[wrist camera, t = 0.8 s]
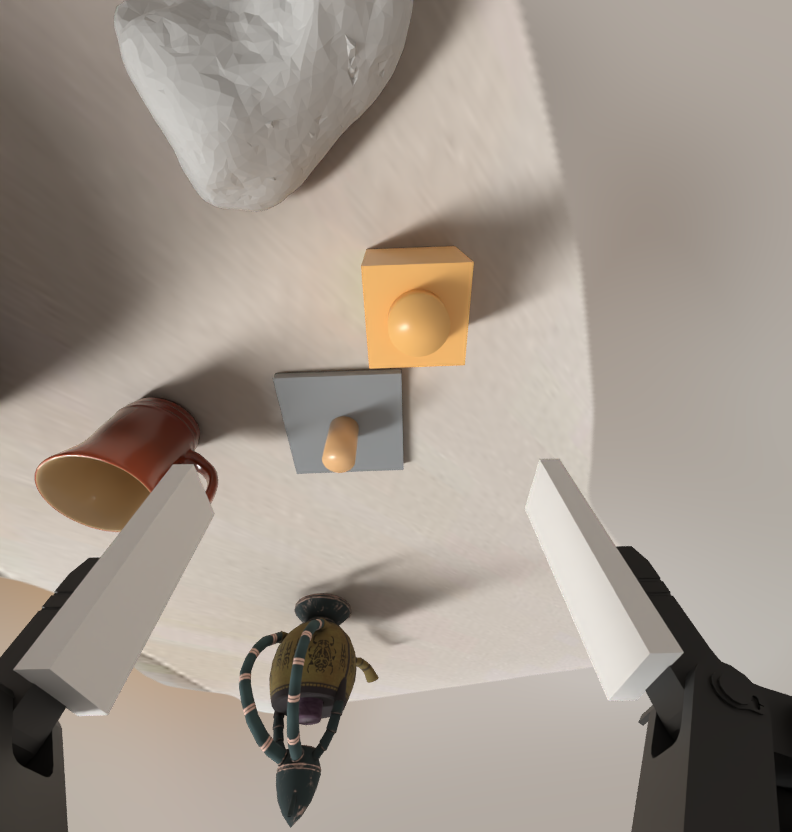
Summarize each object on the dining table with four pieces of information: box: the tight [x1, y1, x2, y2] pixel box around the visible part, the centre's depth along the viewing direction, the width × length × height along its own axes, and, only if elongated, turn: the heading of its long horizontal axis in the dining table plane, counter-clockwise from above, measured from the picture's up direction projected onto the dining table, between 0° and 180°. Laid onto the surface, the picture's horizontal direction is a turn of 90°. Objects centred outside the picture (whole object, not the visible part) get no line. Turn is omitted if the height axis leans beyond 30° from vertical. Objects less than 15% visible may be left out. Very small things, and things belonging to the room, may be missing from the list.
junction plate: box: [273, 369, 404, 474], centre depth 34 cm, size 12×12×6 cm
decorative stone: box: [114, 0, 413, 212], centre depth 19 cm, size 17×10×10 cm
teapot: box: [239, 594, 378, 827], centre depth 49 cm, size 12×25×23 cm, turn 30°
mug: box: [35, 397, 218, 532], centre depth 32 cm, size 12×9×10 cm
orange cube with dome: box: [361, 246, 474, 369], centre depth 26 cm, size 7×7×9 cm
